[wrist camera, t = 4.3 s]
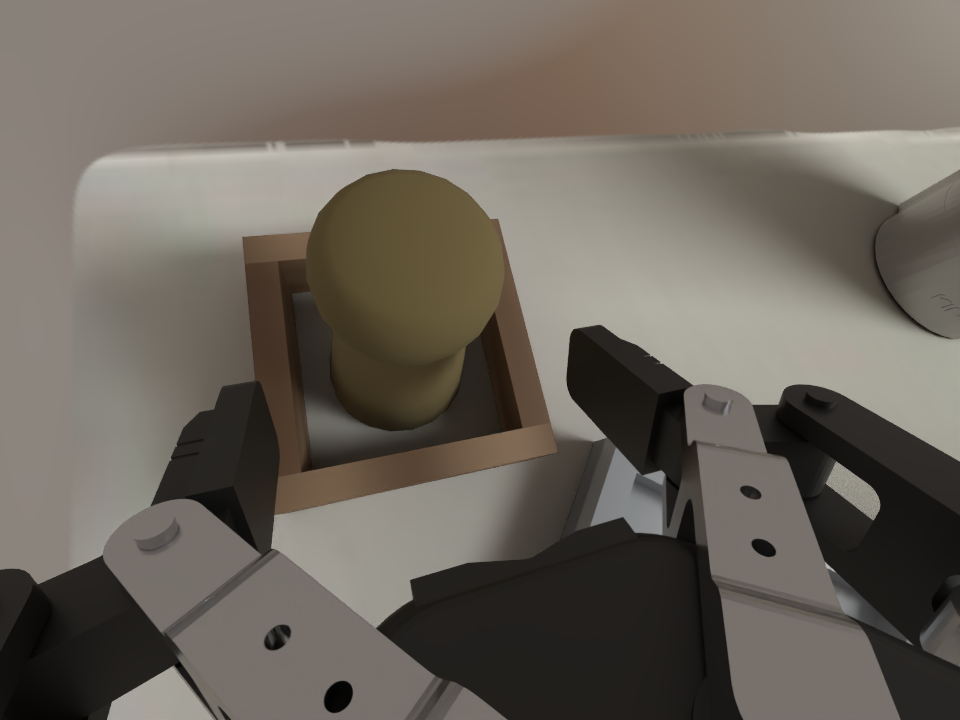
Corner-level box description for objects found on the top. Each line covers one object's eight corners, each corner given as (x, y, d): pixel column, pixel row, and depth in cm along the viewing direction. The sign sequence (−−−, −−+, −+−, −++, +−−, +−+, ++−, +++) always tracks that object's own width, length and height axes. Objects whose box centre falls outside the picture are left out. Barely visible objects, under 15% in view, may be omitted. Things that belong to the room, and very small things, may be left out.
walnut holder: (484, 252, 23) (497, 218, 21) (534, 458, 21) (557, 452, 18) (261, 272, 21) (242, 236, 18) (285, 513, 18) (267, 515, 15)
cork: (393, 282, 22) (402, 89, 12) (487, 362, 22) (581, 238, 11) (299, 369, 20) (209, 228, 10) (402, 459, 20) (424, 414, 9)
